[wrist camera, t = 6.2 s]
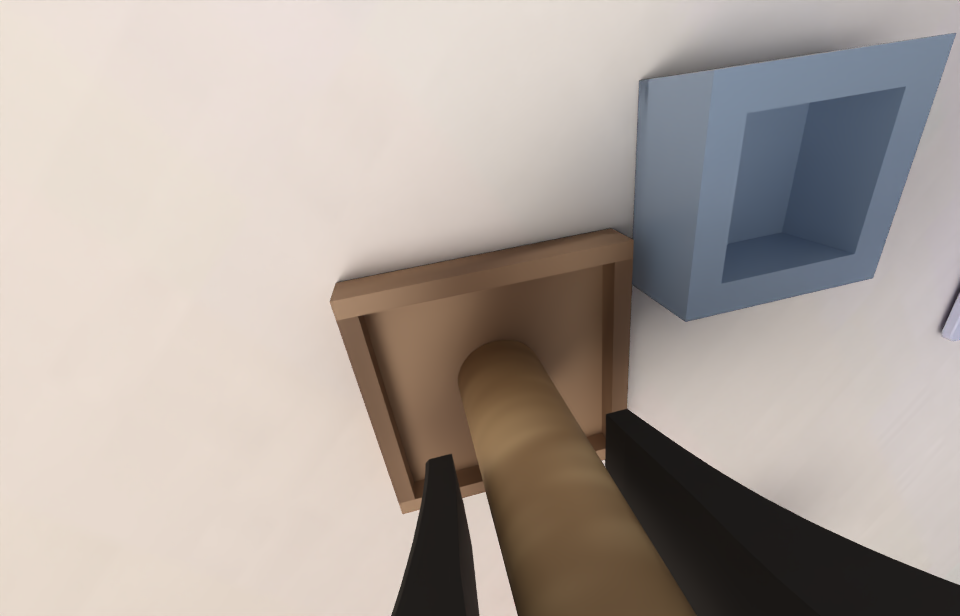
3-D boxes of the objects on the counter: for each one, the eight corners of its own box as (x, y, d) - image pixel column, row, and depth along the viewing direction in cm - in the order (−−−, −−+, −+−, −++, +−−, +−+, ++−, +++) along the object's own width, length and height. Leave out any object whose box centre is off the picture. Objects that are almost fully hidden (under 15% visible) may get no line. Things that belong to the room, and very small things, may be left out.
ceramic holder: (833, 50, 12) (955, 33, 10) (788, 249, 15) (872, 278, 12) (639, 80, 11) (714, 70, 9) (631, 283, 14) (685, 322, 12)
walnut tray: (611, 228, 13) (633, 239, 12) (608, 430, 17) (624, 454, 16) (335, 282, 12) (329, 301, 11) (401, 483, 16) (402, 514, 15)
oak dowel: (538, 331, 14) (743, 629, 6) (541, 400, 15) (712, 717, 7) (452, 349, 13) (546, 694, 5) (463, 418, 15) (552, 774, 7)
